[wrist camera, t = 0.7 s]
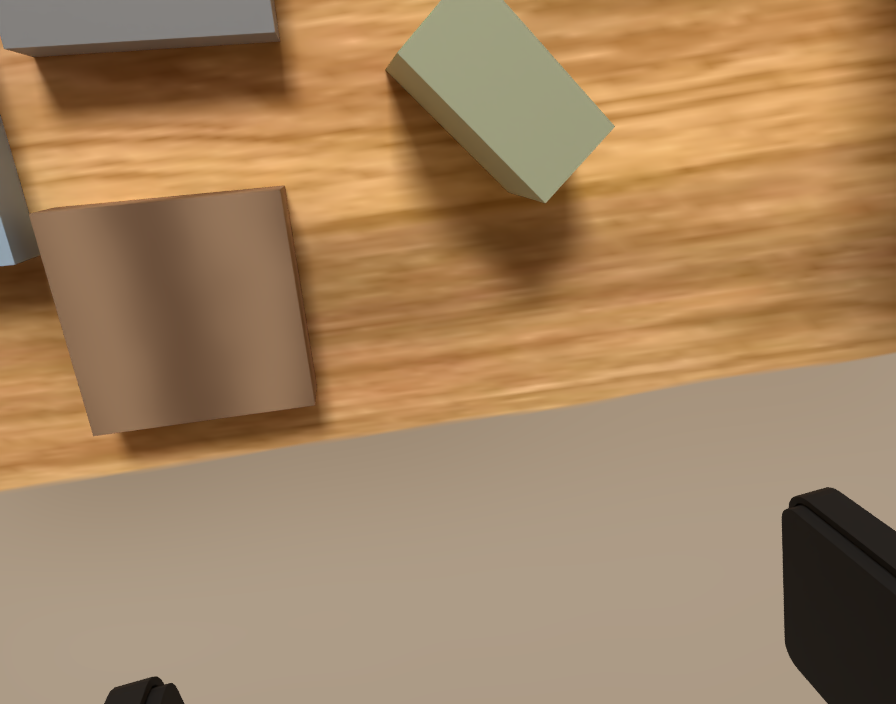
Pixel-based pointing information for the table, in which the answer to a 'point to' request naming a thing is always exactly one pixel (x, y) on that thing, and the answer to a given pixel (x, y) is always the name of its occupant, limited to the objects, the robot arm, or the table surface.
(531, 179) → the olive brick
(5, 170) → the slate-blue block
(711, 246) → the table surface
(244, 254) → the walnut block
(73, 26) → the charcoal block
